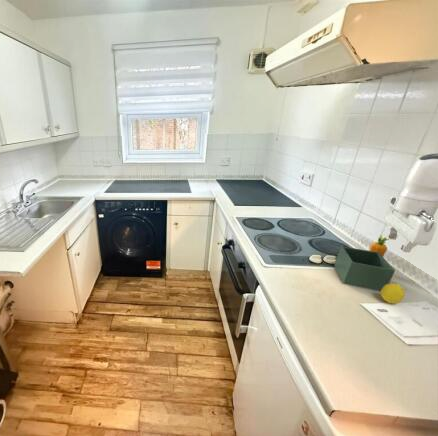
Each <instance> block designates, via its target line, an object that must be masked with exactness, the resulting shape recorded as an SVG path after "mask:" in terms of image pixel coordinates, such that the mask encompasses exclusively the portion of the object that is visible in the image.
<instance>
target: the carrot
mask: <svg viewBox="0 0 438 436" xmlns="http://www.w3.org/2000/svg"><path fill="white" fill-rule="evenodd" d="M389 240H390V238H388V237H386V236H385V237H383V235H381V234H380V235H379V237H378V239H377V242H372V243H371V244H370V247H369V248H368V249H369V250H368V251H373V252H379V253H380V254H381V255H382V256H383V257H384V256H385V254H386V252H387V250H388V246H387V245H386V241H389Z"/></svg>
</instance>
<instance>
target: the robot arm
mask: <svg viewBox="0 0 438 436" xmlns="http://www.w3.org/2000/svg"><path fill="white" fill-rule="evenodd" d="M403 188H404V189H402V190H401V192H400V194H399V196H391V197H390V199H389V205H388V207H387V210H386V213H385V216H384V221H385V223H387V224H388V225H389V228H388V235H387V238H388V239H389V240H394V241H395V240H397V238H398V233H399V234H400V235H401V236H402V237H404V238H405V239H406V240H405V242H406V243H404V244H402V245H401V247H400V250H401V251H402V252H403V253H407V254H408V253H410V252H411V251H412V249H414V248H415V247H416V246H428V245H430V244H431V242H432V240H433V237H434V235H435V233H436V229H437V223H436V221H435V217H434V216H435V214H436V213H437V211H438V152H437V153H429V154H425V155H423V156H420V157H419V158H418V159H417V160H416V161H415V163H414V164H413V165H412V167H411V169H410V170H409V172H408V175H407V176H406V179H405V186H404V187H403Z"/></svg>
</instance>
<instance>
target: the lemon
mask: <svg viewBox="0 0 438 436" xmlns="http://www.w3.org/2000/svg"><path fill="white" fill-rule="evenodd" d="M380 296H381V298H382V300H384V301H385V302H386V303H387V304H398V303H400V302H402V301H403V300H404V298H405V290H404V288H403V287H402V286H401V285H399V284H398V283H393V282H391V283H390V282H389V284H386V285H385V286H384V287H383V288H382V290H381V291H380Z"/></svg>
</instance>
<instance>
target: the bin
mask: <svg viewBox="0 0 438 436" xmlns="http://www.w3.org/2000/svg"><path fill="white" fill-rule="evenodd" d="M333 265H334V266H333V267H334V269H335V270H336V272H337V274H338V276H339V278H340V281H342V284H344V285H349V286H354V287H359V288H364V289H368V290H373V291H378V292H381V290H382V288H383V287H384V286H385V285H386V284H390V282H391V280H392V278H393V276H394V274H395V272H396V270H395V269H394V267H393V266H391V264H390V263H389V262H388V261H387V260H386V259H385V258H384V256H382V255H381V254H380V253H379V252H373V251H369V250H368V249H367V250H366V249H361V248H353V247H350V246H349V247H347V246H340V248H339V251H338V254H337V256H336V259H335V262H334V264H333Z"/></svg>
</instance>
